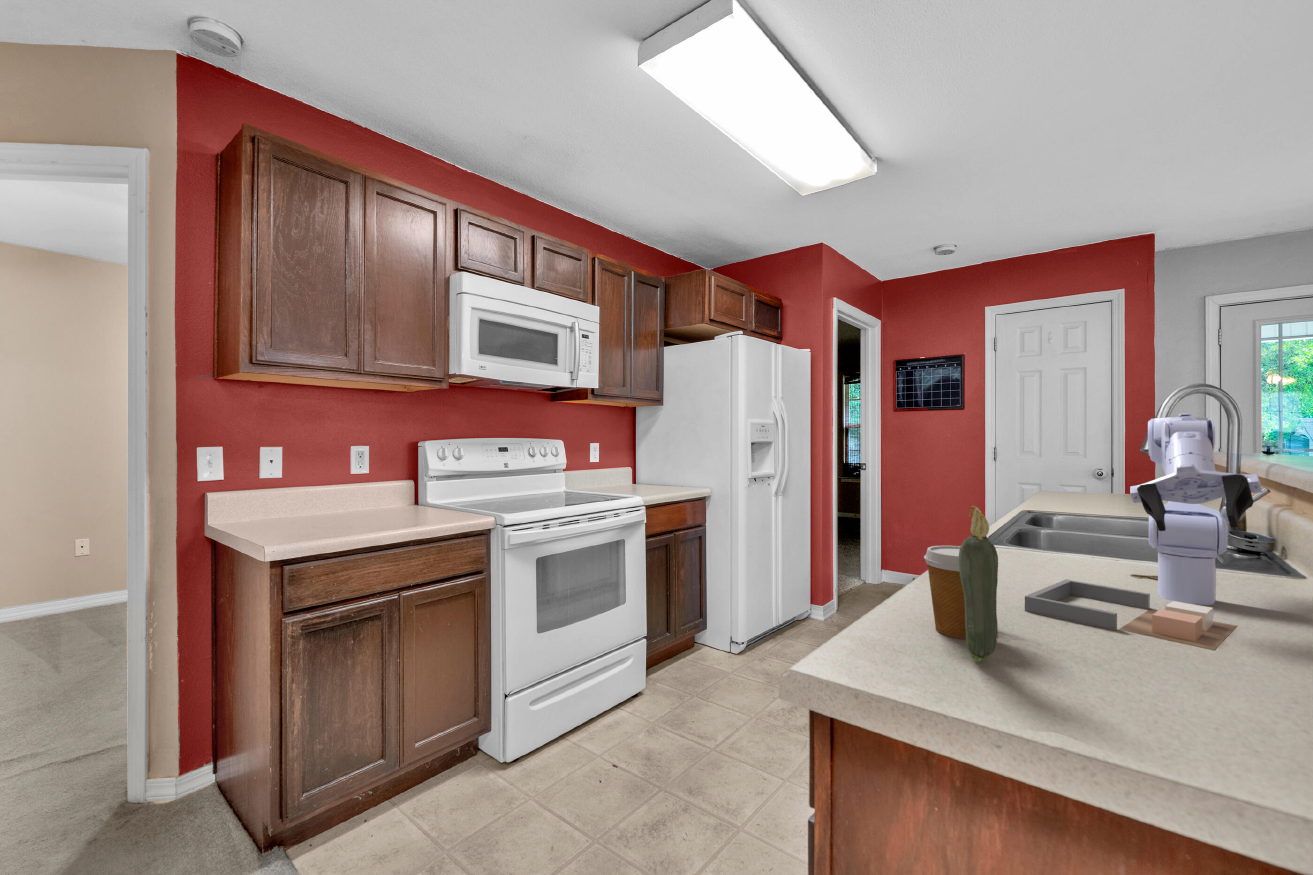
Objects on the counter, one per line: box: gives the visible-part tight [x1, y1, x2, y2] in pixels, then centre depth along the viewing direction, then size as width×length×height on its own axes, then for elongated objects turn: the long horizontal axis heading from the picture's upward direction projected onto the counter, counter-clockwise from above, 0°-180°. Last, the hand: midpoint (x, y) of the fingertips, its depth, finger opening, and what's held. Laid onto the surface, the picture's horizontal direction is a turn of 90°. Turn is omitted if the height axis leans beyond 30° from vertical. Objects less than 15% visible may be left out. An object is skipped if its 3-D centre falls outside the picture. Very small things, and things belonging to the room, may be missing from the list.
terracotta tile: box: [1152, 608, 1202, 641], centre depth 81 cm, size 4×4×2 cm
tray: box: [1024, 578, 1151, 632], centre depth 92 cm, size 18×12×4 cm, turn 127°
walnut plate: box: [1118, 608, 1238, 651], centre depth 84 cm, size 16×10×1 cm, turn 127°
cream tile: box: [1164, 600, 1214, 631], centre depth 85 cm, size 4×4×2 cm
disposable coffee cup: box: [923, 545, 966, 640], centre depth 85 cm, size 10×10×12 cm
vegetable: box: [959, 505, 999, 663], centre depth 73 cm, size 4×4×20 cm
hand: (1195, 523), depth 82 cm, fingers open, 7 cm apart
